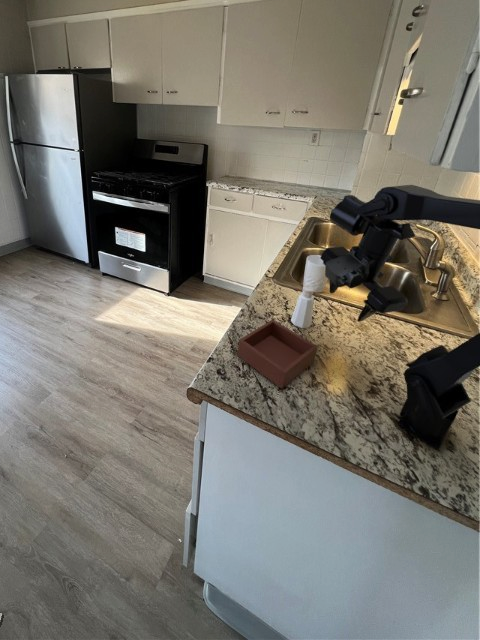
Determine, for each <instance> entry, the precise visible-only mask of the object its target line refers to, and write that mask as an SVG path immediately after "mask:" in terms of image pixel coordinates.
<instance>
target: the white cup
mask: <svg viewBox="0 0 480 640" xmlns="http://www.w3.org/2000/svg"><path fill="white" fill-rule="evenodd" d="M323 262H324V261H323V260H322V259H321V255H319V254H311V255H307V257H306V260H305V267H304V274H303V281H302V287H304V286H311V287H312V288H314V291H313V293H322V292H324V291H325V289H326V286H327V284H328V281H329V278H327V277H326V276H325V265H324V264H323Z"/></svg>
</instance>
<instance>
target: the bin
mask: <svg viewBox="0 0 480 640" xmlns="http://www.w3.org/2000/svg"><path fill="white" fill-rule="evenodd" d="M318 349H319V346H318V345H316V344H314V343H313V342H312V341H310V340H308V339H307V338H304V337H303V336H301V335H299V334H298V333H296V332H294V331H293V330H291V329H289V328H288V327H286V326H284V325H283V324H281V323H280V322H278V321H276V320H274V319H271V320H269V321H267V322H266V323H265V324H264V323H263V324H262V325H261V326H260V327H257V328H256V329H254V330H253V331H251V332H249V333H248V334H246V335H245V336H243V337H241V338H240V339H238V346H237V351H236V356H237V357H239V358H240V359H242V361H244V362H245V363H246V364H248V365H250V366H251V367H252V368H253V369H255V370H256V371H257V372H259V373H260V374H261V375H262V376H263V377H265V378H266V379H268V380H269V381H270V382H271V383H273V384H275V386H277V387H278V388H280V389H281V390H283V389H284V388H286V386H288V385H289V384H290V383H291V382H292V381H294V379H296V378H297V377H298V376H299V375H301V373H303V372H304V371H305V370H307V368H308V367H310V366H311V365H312V364H314V362H315V360H316V356H317V352H318Z"/></svg>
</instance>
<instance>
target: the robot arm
mask: <svg viewBox="0 0 480 640" xmlns="http://www.w3.org/2000/svg"><path fill="white" fill-rule="evenodd" d="M329 220H330V222H331V223H332V224H333V225H335V226H337V227H339V228H340V229H341V230H343V231H345V232H346V233H348V234H349V235H351V236H354V237H355V236H359V235H362V236H361V238H360V240H359V242H358V244H357V245H354V246H352V247H351V248H350V249H349V250H348V249H347V248H346V247H345V246H334V247H332V246H331V247H326V248H325V249H324V250H322V251H321V252H322V253H321V255H320V256H321V259H322V260H323V261H324V262H323V264H324V265H325V276H326V277H327V278H328V280H329V293H330V294H334V293H336V291H337V290H338V289H339V288H343V287H345V286H346V287H348V289H353V288H356V287H359V286H361V285H363V286H364V287H365V288H366V289H367V290H368V291H369V292H368V294H367V296H366V299H363V303H364V306H363V308H362V310H361V312H360V313H359V315H358V317H357V319H356V321H357V322H358V323H361V322H363V321H365V320H367V319H368V318H370V317H372V316H374V315H375V314H377V313H380V314H387V313H392V312H393V313H394V312H398V311H403V310H404V309H405V308H406V306H407V305H408V298H407V296H406V295H404V294H403V293H402V292H401V291H400V290H398V289H397V288H396V287H394V286H393V285H389V286H382V284H380V283H379V282H377V280H378V279H383V277H384V275H385V274H384V273H383V272H381V271H382V270H383V268H384V266H385V265H386V263H391V262H392V260H393V258H394V256H392V255H391V253H392V251H393V249H394V248H395V246H396V245H397V242H398V241H399V240H400V241H404V240H408V239H413V238H415V237H416V234H415V232H414V230H413V228H412V227H411V223H410V222H405V223H400V222H399V221H431V222H437V223H443V224H448V225H454V226H459V227H464V228H470V229H474V230H480V199H472V198H465V197H458V196H457V197H456V196H448V195H443V194H441V193H438V192H437V191H433V190H432V189H429V188H425V187H421V186H418V185H415V184H403V185H394V186H385V187H382V188H380V190H378V191H377V192H376V194H375V195H374V197H373V198H371V199H370V200H369V201H366V202H365V201H363V200H361V199H360V198H358V197H357V196H355V195H354V194H349V195H348V194H347V195H344V197H343V199H342V200H341V201H340V202H338V203H337V204H336V205H335V206H334V207H333V209H332V210H331V211H330V214H329ZM405 367H407V368H406V369H405V370H404V372H403V376H404V381H405V383H406V399H405V401H404V404H403V406H402V408H401V410H400V411H399V416H400V419H399V420H398V422H397V424H398V426H399V427H401V428H402V429H404V430H405V431H407V432H408V433H409V434H411V435H412V436H414V437H416V438H417V439H419V440H420V441H422V442H423V443H425V444H426V445H428V446H429V447H431V448H433V449H434V450H436V451H439V450H440V449H441V447H442V445H443V443H444V441H445V438H446V437H447V434H448V432H449V430H450V429H451V427H452V425H453V423H454V421H455V420H456V417H457V415H458V414H459V410H460V409H461V408H463V407H465V406H466V405H468V404H470V403H471V401H472V400H471V398H470V396H469V395H468V392H467V390H466V389H465V386H464V384H463V383H464V382H465V381H466V380H467V379H468V378H469V377H470V376H471V374H473V372H474V371H475V370H476V369H478V368H479V367H480V332H478V333H476V334H475V335H473V336H472V337H470V338H469V339H467V340H465V341H464V342H463V343H461V344H459V345H457V346H456V347H455V348H453V349H452V350H447V349H446V348H445V346H444V345H443V344H440V345H438V346H436V347H433V348H431V349H428V350H427V351H424V352H423V353H421V354H420V355H418V357H417V358H416V359H414V360H411V361H409V362H407V363H405Z"/></svg>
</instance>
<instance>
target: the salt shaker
mask: <svg viewBox="0 0 480 640" xmlns="http://www.w3.org/2000/svg"><path fill="white" fill-rule="evenodd" d="M313 291H314V288H312V287H311V286H302V291H301V293H299V296H298V298H297V301H296V304H295V307H294V309H293V313H292V316H291V318H290V321H291V323H292V324H293V326H295V327H298V328H300V329H309V328H310V327H311V325H312V322H313V321H312V320H313V314H314V313H313V312H314V303H315V297H314V296H313V295H314V292H313Z"/></svg>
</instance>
